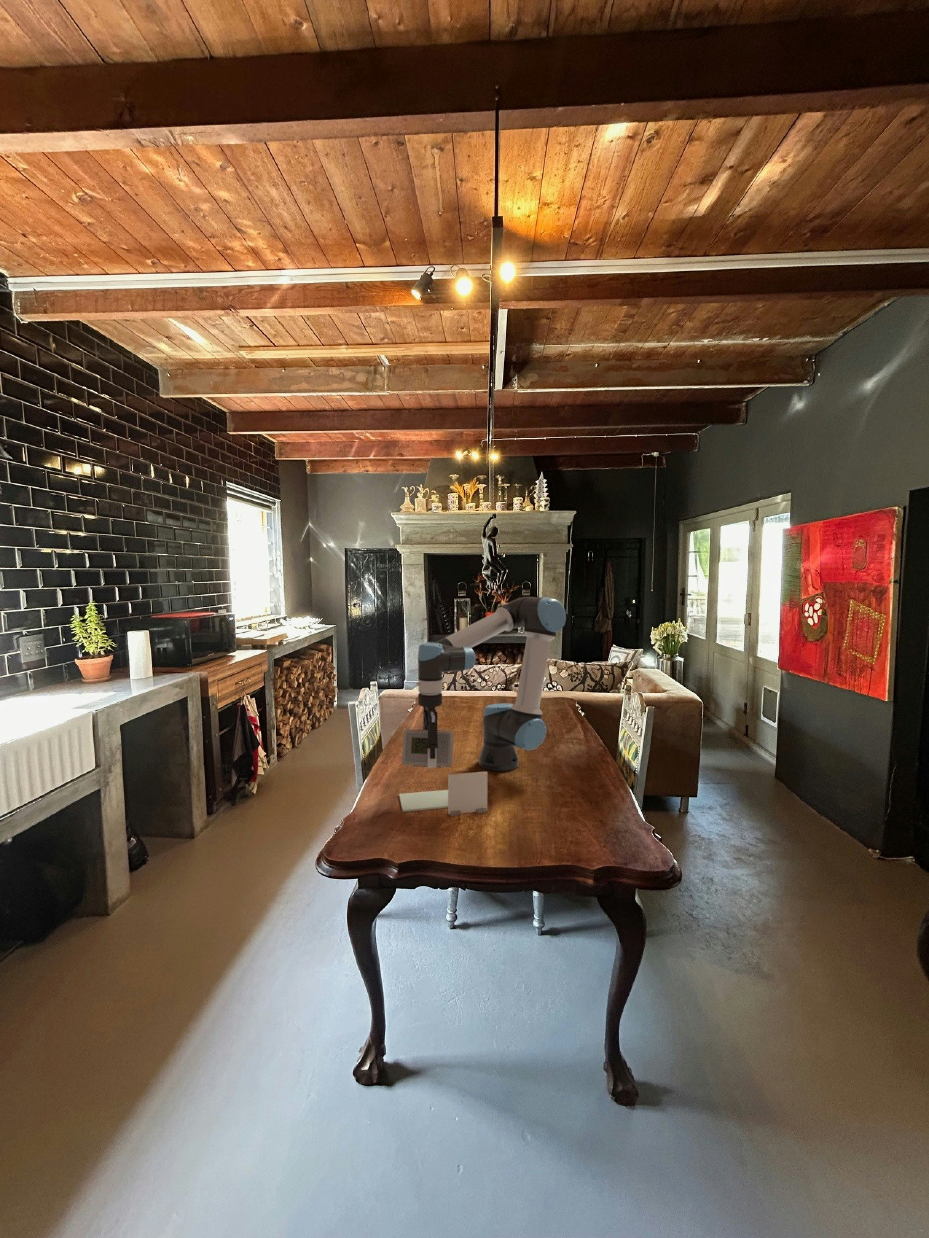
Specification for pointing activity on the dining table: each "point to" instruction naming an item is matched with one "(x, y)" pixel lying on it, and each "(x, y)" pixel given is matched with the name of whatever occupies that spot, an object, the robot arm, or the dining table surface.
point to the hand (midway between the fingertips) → (430, 762)
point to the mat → (424, 800)
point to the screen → (467, 793)
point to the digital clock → (418, 753)
